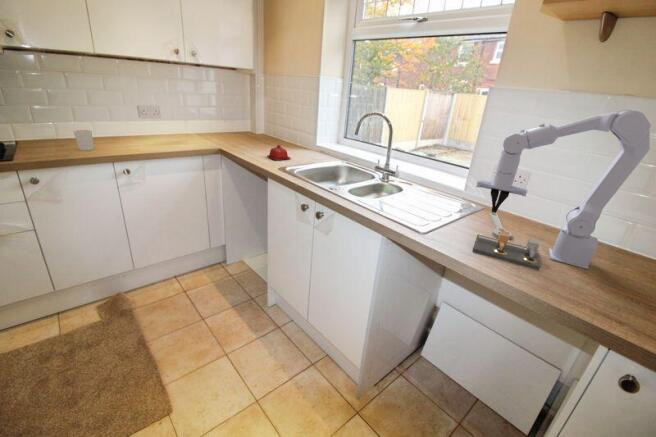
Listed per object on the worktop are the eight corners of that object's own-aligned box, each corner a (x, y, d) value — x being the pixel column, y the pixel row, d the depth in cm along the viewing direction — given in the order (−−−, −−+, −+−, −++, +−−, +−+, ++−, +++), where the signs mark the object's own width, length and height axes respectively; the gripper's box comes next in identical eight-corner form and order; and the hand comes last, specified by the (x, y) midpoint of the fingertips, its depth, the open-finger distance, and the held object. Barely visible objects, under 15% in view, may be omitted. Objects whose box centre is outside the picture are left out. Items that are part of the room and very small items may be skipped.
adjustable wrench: (488, 214, 131) (489, 210, 130) (505, 218, 129) (506, 214, 128) (491, 237, 110) (493, 233, 109) (512, 242, 107) (513, 237, 107)
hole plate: (536, 253, 100) (542, 238, 98) (538, 270, 90) (545, 254, 88) (476, 237, 108) (480, 223, 106) (472, 251, 98) (476, 235, 96)
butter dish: (281, 156, 199) (282, 142, 196) (291, 160, 191) (292, 146, 188) (265, 157, 192) (265, 143, 189) (275, 161, 184) (275, 147, 181)
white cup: (93, 150, 174) (89, 132, 170) (75, 150, 171) (71, 132, 167) (96, 147, 181) (93, 130, 177) (80, 147, 178) (76, 129, 174)
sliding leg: (505, 242, 102) (509, 232, 100) (504, 252, 96) (508, 241, 94) (497, 240, 103) (500, 230, 101) (495, 249, 97) (499, 238, 95)
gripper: (531, 173, 101) (518, 213, 106) (482, 165, 107) (472, 203, 112) (532, 178, 95) (518, 219, 100) (480, 169, 101) (469, 208, 106)
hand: (493, 211), depth 106 cm, fingers closed
